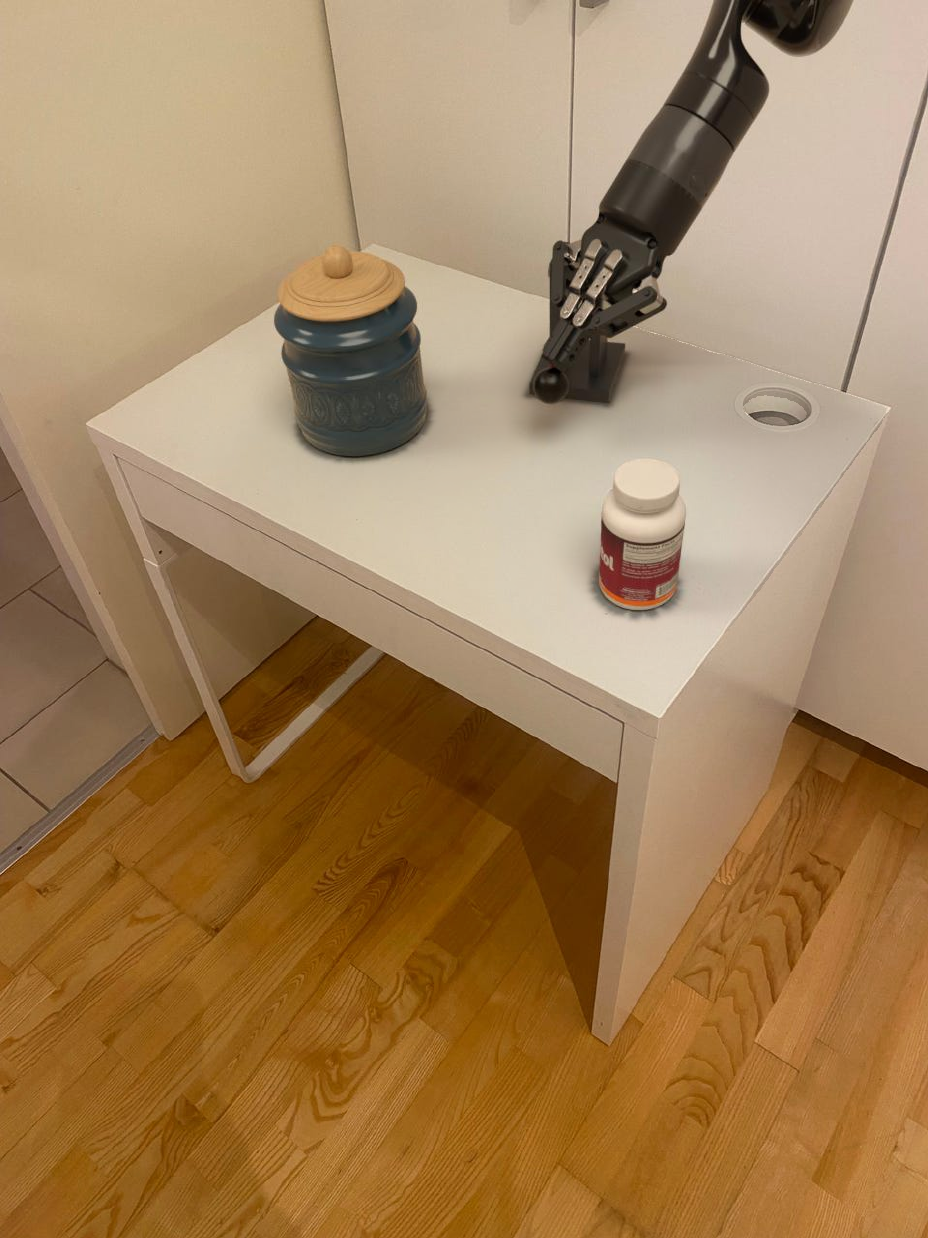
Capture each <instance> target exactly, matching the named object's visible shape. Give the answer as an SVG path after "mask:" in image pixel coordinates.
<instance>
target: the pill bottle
mask: <svg viewBox="0 0 928 1238" xmlns="http://www.w3.org/2000/svg"><path fill="white" fill-rule="evenodd" d="M680 482H681V480H680V474H679V472H678V471H677V470H676V468H674V467H673V466H672V465H671V464H669V463H667V462H665V461H662V460H659V459H654V458H635V459H632V460H629V461H627V462H624V463H623V464H621V465H620V466H619V467H618V468H617V469H616V470H615V473H614V475H613V483H612V489H611V490H610V491H609V492H608V494H607V495H606V497H605V498H604V500H603V503H602V507H601V508H602V509H601V520H600V545H599V547H600V549H599V568H598V584H599V588H600V590H601V592H602V594H603V595H604V596H605V597H606V598H607V599H608V601H610V602H611V603H613V604H614V605H615V606H618V607H620V608H622V609H626V610H631V611H645V610H650V609H651V610H653V609H656V608H658V607H660V606H662V605H664V604H665V603H667V602H668V601H669V600H670V599H671V598H673V595H674V594H675V592H676V589H677V585H678V580H679V571H680V565H681V564H680V563H681V557H682V548H683V540H684V533H685V527H686V517H687V509H686V504H685V502H684V499H683V498H682V496H681V495H680V486H681V485H680V484H681V483H680Z"/></svg>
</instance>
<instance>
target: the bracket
mask: <svg viewBox="0 0 928 1238" xmlns="http://www.w3.org/2000/svg"><path fill="white" fill-rule="evenodd" d="M563 242H564V243H565V244H570V243H571V242H570V241H563ZM547 267H548V268H547V276H548V278H549V337H550V336H551V333H552V332H553V330H554V328H555V327H556V325H557V324H558V322H559V320H560V312H559V310H558V308H557V307H556V306H555V305H554V304H552V302H551V280H552V258H551V260H550V261H549V263H548V266H547ZM604 299H605V300H607V299H608V298H607V297H606V296H605V297H604ZM596 310H597V309H596ZM595 312H596V311H595ZM595 312H594V313H595ZM594 313H593V314H594ZM608 339H609V338H607V337H606V336H601V335H595V336H593V337H591V338H590V339H589V340H588V342H587V344H586V345H585V347H584V348H583V350H582V352H581V353H580V355H579V356H578V358H577V360H576V361H575V363H574V364H573V365H572V366H571V367H570V368H567V369H566V370H565V371H564V373H565V375H566V376H567V378H568V381H569V390H568V393H567V395H566V396H565V398H564V399H571V400H580V401H586V402H587V401H588V402H597V403H606V404H607V403H608V404H609V403H610V399H611V396H612V393H613V391H614V388H615V384H616V381H617V379H618V376H619V373H620V370H621V367H622V364H623V361H624V359H625V355H626V345H627V344H626V343H625V342H614V341H608ZM545 368H549V363H547V362H546V361H544V360H543V359H542V355H541V356H540V358H539V361H538V363H537V365H536V368H535V369H534V371H533V374H532V376H531V379H530V381H529V384H528V385H529V388H528V389H529V395H535V393H534V390H533V382H534V379H535V377H536V375H537V374H538V373H539V372H540V371H541V370H543V369H545ZM535 396H536V395H535Z"/></svg>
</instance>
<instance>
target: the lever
mask: <svg viewBox="0 0 928 1238" xmlns="http://www.w3.org/2000/svg"><path fill="white" fill-rule="evenodd" d="M587 288H588V289H589V287H588V286H587ZM533 390H534V393H535V397H536V398H537V399H538V400H539V401H540V402H542V403H543V404H547V405H555V404H558V403H560V402H562V401H563V400H564V399H566V398H565V396H566V395H567V393H568V390H569V381H568V378H567V376H566V375H565V373H564V372H561V371H560V370H558V369H556V368H555V367H553V366H552V365H550V364H549V368H545V369H543V370H541V371H540V372H539V373H538V374H537V375H536V377H535V379H534V382H533Z"/></svg>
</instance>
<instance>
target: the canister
mask: <svg viewBox="0 0 928 1238" xmlns="http://www.w3.org/2000/svg"><path fill="white" fill-rule="evenodd" d="M277 299H278V302H279V305H278V307H276V310H275V312H274V316H273V325H274V329H275V330H276V332H277V334H278V335H279V336H280V337H281V338H282V339H283V343H282V346H281V353H280V354H281V359H282V362H283V364H284V366H285V368H286V372H287V377H288V382H289V385H290V390H291V394H292V398H293V402H294V404H293V411H294V416H295V420H296V423H297V425H298V427H299V429H300V430H301V433H302V435H303V437H304V438H305V440H306V441H307V442H308V443H309V444H310V445H312V446H313V447H315V448H316V449H318V450H320V451H323V452H325V453H327V454H331V455H338V456H342V457H343V456H345V457H364V456H371V455H377V454H381V453H385V452H387V451H390V450H392V449H395V448H397V447H399V446H401V445H403V444H405V443H407V442H408V441H409V440H411V439H412V438H413V437H415V436H416V434H417V433H418V432H419V431H420V430H421V429H422V427H423V425H424V424H425V421H426V417H427V408H428V403H429V401H428V391H427V388H426V385H425V381H424V374H423V373H424V372H423V363H422V355H421V343H422V336H421V335H422V334H421V332H420V329H419V328H418V326H417V325H416V323H414V319H415V317H416V314H417V311H418V301H417V298H416V296H415V294H414V293H413V291H411V289H410V288H408V286H406V278H405V275H404V273H403V271H402V270H401V268H400V267H398V266H397V265H396V264H394V263H392V262H390V261H388V260H386V259H382V258H381V257H379V256H377V255H375V254H371V253H368V252H365V251H358V250H357V251H356V250H348V249H347V248H345V247H344V246H342V245H332V246H330V247H328V248H326V249H325V250H324V253H323V254H321V255H317V256H315V257H313V258H310V259H308V260H305V262H303V263H301V264H300V265H299V266H297V268H295V270H294V271H292V272H291V273H290V274H289V275H287V276H286V277H285V278H283V280H282V282H281V283H280V284H279V287H278V290H277Z"/></svg>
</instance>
